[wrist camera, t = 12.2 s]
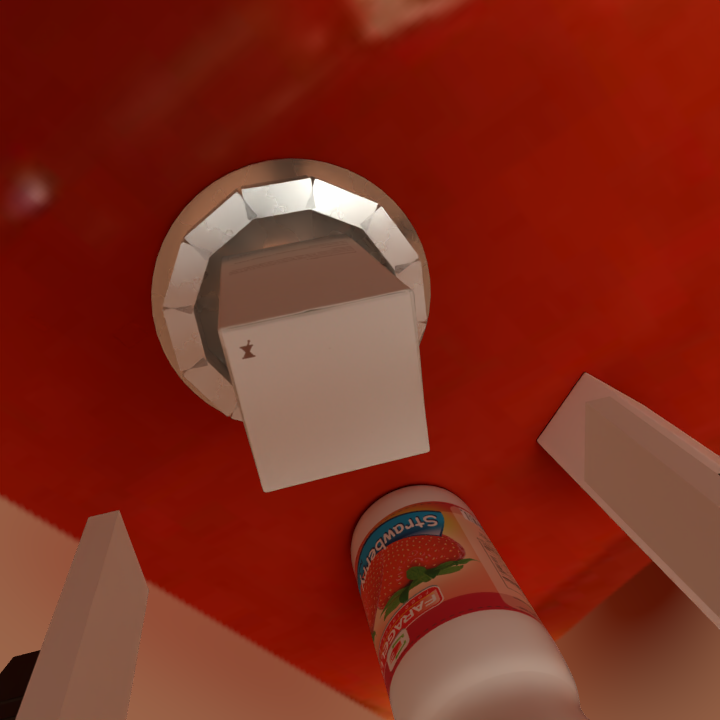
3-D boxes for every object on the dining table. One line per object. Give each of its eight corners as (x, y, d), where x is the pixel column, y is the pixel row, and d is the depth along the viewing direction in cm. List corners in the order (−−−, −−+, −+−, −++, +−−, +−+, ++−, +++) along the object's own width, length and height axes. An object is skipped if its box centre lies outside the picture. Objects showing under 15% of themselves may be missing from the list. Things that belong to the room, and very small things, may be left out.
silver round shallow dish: (115, 184, 30) (105, 190, 28) (412, 136, 33) (427, 137, 30) (193, 447, 37) (190, 471, 34) (437, 393, 39) (452, 412, 36)
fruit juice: (426, 602, 45) (678, 1212, 20) (323, 564, 42) (466, 1238, 17) (496, 508, 43) (875, 1052, 18) (394, 460, 40) (680, 1046, 15)
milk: (534, 440, 42) (810, 729, 22) (584, 369, 41) (928, 608, 20) (595, 470, 44) (898, 759, 24) (644, 403, 43) (1010, 651, 22)
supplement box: (247, 376, 35) (256, 499, 23) (219, 253, 32) (212, 324, 20) (368, 351, 36) (433, 457, 24) (351, 229, 33) (415, 285, 21)
